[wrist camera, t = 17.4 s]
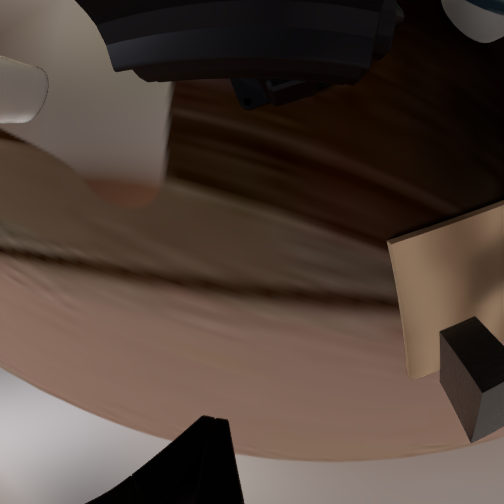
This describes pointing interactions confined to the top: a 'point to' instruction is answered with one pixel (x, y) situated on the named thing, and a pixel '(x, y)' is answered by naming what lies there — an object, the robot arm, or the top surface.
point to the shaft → (473, 376)
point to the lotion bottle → (477, 18)
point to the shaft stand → (448, 281)
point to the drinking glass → (21, 91)
